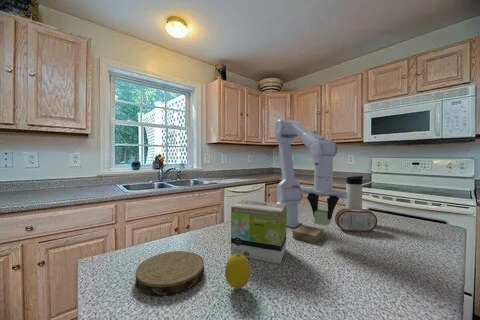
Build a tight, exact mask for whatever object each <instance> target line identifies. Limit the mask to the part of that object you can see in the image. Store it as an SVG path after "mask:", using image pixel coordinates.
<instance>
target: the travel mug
mask: <svg viewBox="0 0 480 320" xmlns="http://www.w3.org/2000/svg"><path fill="white" fill-rule="evenodd" d="M363 178H364V176H363V175H358V176H356V175H355V176H348V177H346V180H345V181H346V183H345V184H346V187H345V192H347V199H345V209H363Z"/></svg>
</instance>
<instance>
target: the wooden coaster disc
mask: <svg viewBox="0 0 480 320" xmlns="http://www.w3.org/2000/svg"><path fill="white" fill-rule="evenodd" d="M204 276H205V260H204V259H203V258H202V256H201V255H200V254H197V253H195V252H190V251H185V250H183V251H182V250H180V251H179V250H176V251H174V250H173V251H169V252H162V253H159V254H156V255H153V256H150V257H149V258H147V259H145V260H143V261H142V262H141V263H140V264H139V265H138V266H137V267H136V270H135V287H136V290H138V291H139V292H140V293H141V294H143V295H145V296H148V297H152V296H153V297H155V298H166V297H165V296H167V297H174V296H177V295H176V294H178V295H180V293H181V294H183V293H182V292H184V293H186V292H188V291H190V290H192V289H194V288H196V287H197V286H198V285H199V284H200V283H201V282H202V280H203V279H204ZM193 287H194V288H193ZM173 295H174V296H173Z"/></svg>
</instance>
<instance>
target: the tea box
mask: <svg viewBox="0 0 480 320" xmlns="http://www.w3.org/2000/svg"><path fill="white" fill-rule="evenodd" d="M230 212H231V213H230V255H231V256H232V255H234V254H236V253H239V254H241V255H243V256H244V257H246V258H248V259H255V260H258V261H265V262H270V263H274V264H278V265H280V264H282V260H283V257H284V256H285V252H286V248H287V226H286V224H287V204H278V203H277V202H267V201H255V200H244V199H243V200H240V201H239V202H237V203H236V204H234V205H232V206H231V208H230Z"/></svg>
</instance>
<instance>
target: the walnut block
mask: <svg viewBox="0 0 480 320" xmlns="http://www.w3.org/2000/svg"><path fill="white" fill-rule="evenodd" d="M323 237H324V228H320V227H319V228H317V227H313V226H308V225H303V224H302V225H299V226H297V227H296V228H295V229H293V230H292V239H294V240H298V241H302V242H306V243H310V244H314V245H316V244H317V243H318V242H319V241H320V240H321V239H322V238H323Z"/></svg>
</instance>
